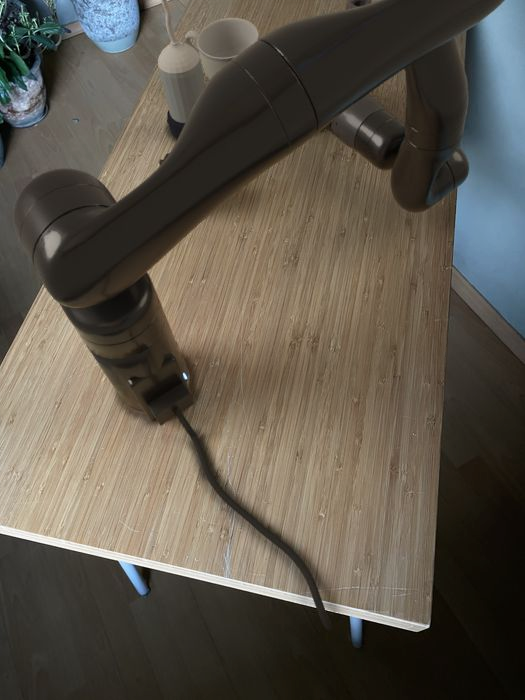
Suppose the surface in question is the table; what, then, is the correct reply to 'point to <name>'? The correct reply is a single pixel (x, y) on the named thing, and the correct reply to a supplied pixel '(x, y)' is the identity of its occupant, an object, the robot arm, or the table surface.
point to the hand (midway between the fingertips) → (287, 64)
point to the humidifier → (179, 77)
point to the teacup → (222, 42)
